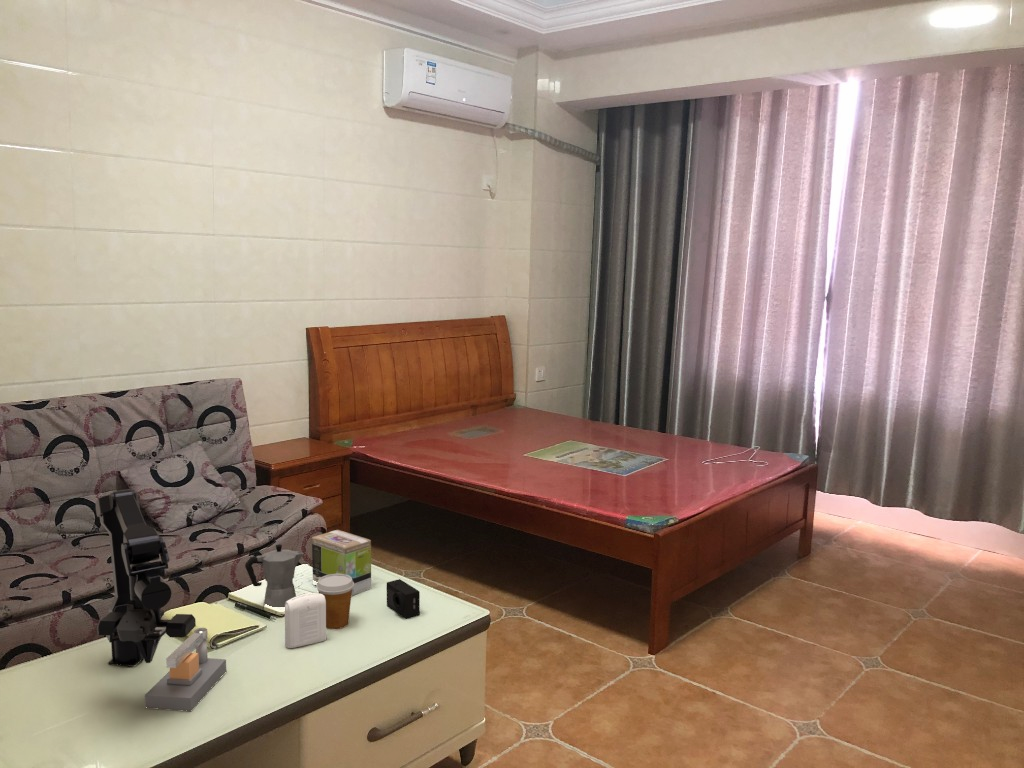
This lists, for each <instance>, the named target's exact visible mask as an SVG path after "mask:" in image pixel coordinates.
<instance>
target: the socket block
mask: <svg viewBox="0 0 1024 768" xmlns="http://www.w3.org/2000/svg"><path fill="white" fill-rule="evenodd" d="M207 642H208V638H207V639H206V640H205V641H203V642H202V643H201V644H200V645H199V646H198V647H197V648H196V649H195V653H198V655H199V668H202V672H203V673H202V674H201V675H200V676H199V677H198V678H197V679H196V680H195V681H194V682H193V683H192V684H191V685H180V684H167V678H168V677H169V676H170V670H168V671H167V672H166V673H165V675H163V677H162V678H161V679H159V681H157V682H156V683H155V684H154V685H153V686H152V687H151V688H150V689H149V691H147V692H146V693H145V694H144V703H145V706H144V707H145V708H146V707H147V708H146V709H150V708H158V709H157V710H164V709H170V710H169V711H178V710H183V711H182V712H192V711H193V710H194V709H195V708H196V707H197V706H198V704H199V703H200V702H201V701H202V700H203V699H202V698H203V697H204V698H205V696H206V695H207V694H208V693H209V692H210V691H211V690H212V689H211V687H212V686H213V685H214V684H215V683H216V682H217V681H218V680H219V681H220V679H221V678H222V677H223V676H224V675H225V674H226V673H227V659H226V658H212V657H208V643H207ZM225 672H226V673H225ZM224 673H225V674H224ZM223 674H224V675H223ZM222 675H223V676H222ZM221 676H222V677H221ZM220 677H221V678H220ZM219 681H218V682H219ZM218 682H217V683H218ZM217 683H216V684H217ZM216 684H215V685H216ZM215 685H214V686H215ZM214 686H213V687H214ZM213 687H212V688H213ZM210 689H211V690H210ZM209 690H210V691H209ZM208 691H209V692H208ZM207 692H208V693H207ZM201 699H202V700H201ZM200 700H201V701H200ZM198 702H199V703H198ZM195 706H196V707H195ZM194 707H195V708H194ZM193 708H194V709H193ZM192 709H193V710H192ZM186 710H187V711H186ZM191 710H192V711H191Z"/></svg>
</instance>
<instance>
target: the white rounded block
mask: <svg viewBox="0 0 1024 768" xmlns="http://www.w3.org/2000/svg"><path fill="white" fill-rule="evenodd" d="M326 639H327V628H326V600H325V596H324V595H323V594H319V592H310V593H304V594H299V595H296V597H294V598H292V599H290V600H288V601H286V602H285V615H284V642H285V643H284V646H285V647H286V648H288V649H294V648H299V647H303V646H308V645H311V644H316V643H320V642H323V641H326Z"/></svg>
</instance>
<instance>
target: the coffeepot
mask: <svg viewBox="0 0 1024 768" xmlns="http://www.w3.org/2000/svg"><path fill="white" fill-rule="evenodd" d="M282 546H283V544H276V545H275V548H276V549H274V550H271V551H270V550H269V551H267V552H264V553H263V554H262V555H256V556H251V557H249V558H248V560H247V561H246V562H245V565H244V568H245V570H246V572H247V574H248V576H249V579H250V581H251V583H252V585H253V587H260V586H262V582H258V581H257V576H256V574H255V572H254V571H255V570H254V568H253V565H254V564H257V565H259V564H261V565H262V569H263V570H262V571H263V575H264V579H265V582H266V587H265V594H264V599H263V601H264V602H263V604H264V603H265V604H267V605H269V606H272V607H285V602H286V601H288V600H290V599H292V598H294V597H296V596H297V594H296V590H295V584H294V581H293V580H294V578H295V573H296V571H295V570H296V568H297V566H298V563H299V561H300V560H301V559H302V557H303V556H304V554H305V553H304V552H302V551H299V550H297V551H296V550H291V549H282V548H283V547H282Z"/></svg>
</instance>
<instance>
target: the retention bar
mask: <svg viewBox="0 0 1024 768" xmlns="http://www.w3.org/2000/svg"><path fill="white" fill-rule="evenodd" d="M206 639H207V640H208V629H207V628H206V627H198V628H195V629H194V630H193V632H192V634H190V636H188V637H187V638H185V640H184V641H183V642H182V643H181V644H180V645H179V646H178V647H177V648H175V650H174V651H173V652H171V654H169V655H168V656H167V657H166V668H169V669H170V668H176V667H177V666H178V665H179V664H180V663H181V662H182V661H183V660H184V659H185V658H186V657H187V656H188V655H190V654H191V653H194V651H196V648H197V647H198V646H199V645H200V644H201V643H202V642H203V641H205V640H206Z"/></svg>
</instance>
